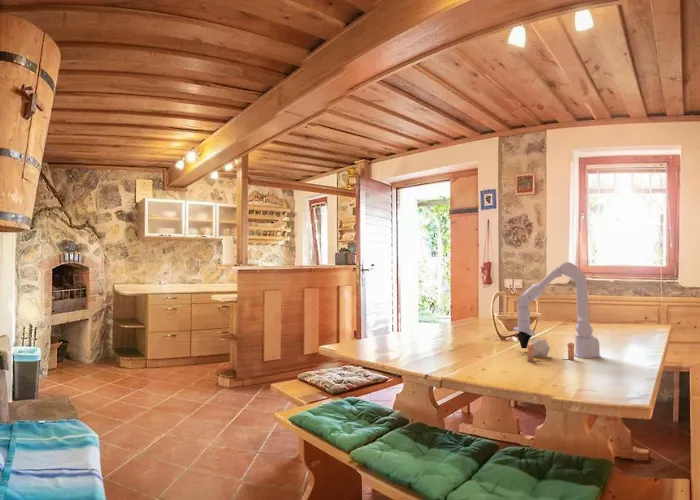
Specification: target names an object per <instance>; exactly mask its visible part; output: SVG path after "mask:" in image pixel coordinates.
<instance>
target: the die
mask: <svg viewBox="0 0 700 500" xmlns="http://www.w3.org/2000/svg"><path fill="white" fill-rule="evenodd" d="M530 344H532V345H533V346H534V349H533V350H534V358H543V359H546V358H547V357H548V354H549V352H550V349H551V347H550V345H549V343H548V341H547V339H546V338H532V340H531V342H530Z"/></svg>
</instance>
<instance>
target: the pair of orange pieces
mask: <svg viewBox="0 0 700 500" xmlns="http://www.w3.org/2000/svg"><path fill="white" fill-rule="evenodd" d="M526 349H527V362H529V363H534V362H540V360H537V359H536V360H534V358H535V357H534V350H533V349H534V346H533V345H532V344H531V343H528V345H527V348H526ZM574 353H575V343H573V342H567V358H562V359H561V360H562V361H575V355H574Z"/></svg>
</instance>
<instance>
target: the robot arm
mask: <svg viewBox="0 0 700 500" xmlns="http://www.w3.org/2000/svg"><path fill="white" fill-rule="evenodd" d="M563 275H564V276H565V277H568V278H570V279H571V280H573V281H574V282H575V295H576V296H575V297H576V311H577V312H576V313H577V316H576V317H577V322H576V325H575V330H576V334H575V335H574V336H575V337H574V338H575V341H574V342H575V343H574V345H575V352H574V357H575V356H576V357H578V358H583V359H588V358H589V359H590V358H593V359H594V358H602V356H601V354H600V352H601V351H600V341H599V339H598V338H597V337H596V336H593V335H592V334H593V327H592V326H591V323H590V314H589V300H588V299H589V298H588V283H587V277H586V275H585V274H584V272H582V271H581V269H580V268H579V267H578V266H577V265H576V264H574V263H572V262H569V261H565V262H563V263H561V264H560V265H559V266H557V267H555V268H554V269H552V270H551V271H550V272H549V273H548V274H547V275H546V276H544V278H543V279H542V280H541V281H540V282H538V283H533V284H530V285H529V288H528V289H526V290H525V291H524V292H523V291H522V292H521V295H520V296H518V298H517V299H516V303H517V310H516V312H517V313H516V314H517V315H516V316H517V317H516V318H517V326H514V327H513V332H517V333H516V337H518V340H519V343H520V348H521V349H527V345H528V344H529V342H530V341H529V340H531V338H532V336H536V331H534V330H532V329H531V311H530V304H531V302H534V301H535V300H536V299H538V297H540V296H541V295H543V292H544V289H545V288H546V287H547V286H548V285H549V284H550V283H551V282H553V281H554V280H555V279H556V278H560V277H563Z"/></svg>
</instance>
